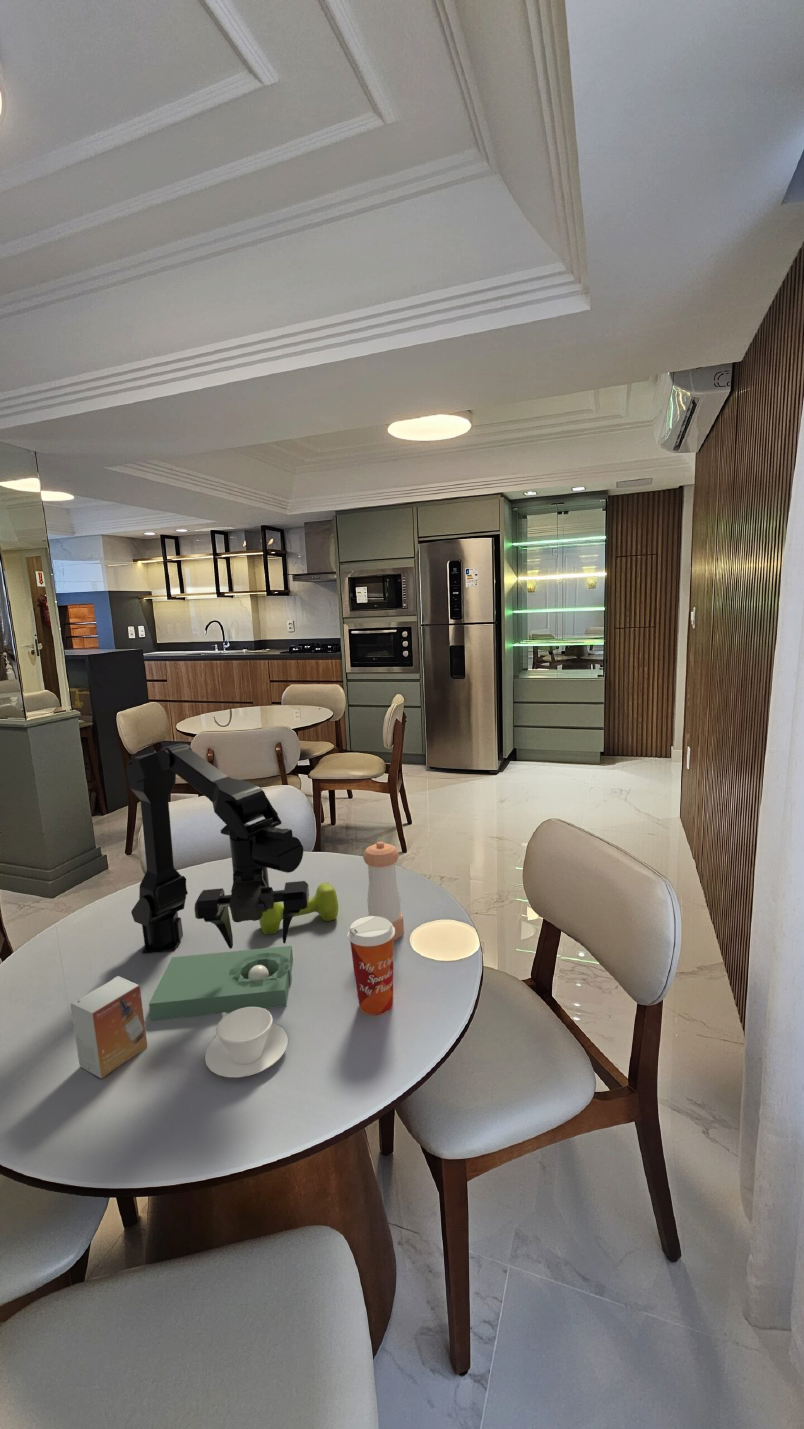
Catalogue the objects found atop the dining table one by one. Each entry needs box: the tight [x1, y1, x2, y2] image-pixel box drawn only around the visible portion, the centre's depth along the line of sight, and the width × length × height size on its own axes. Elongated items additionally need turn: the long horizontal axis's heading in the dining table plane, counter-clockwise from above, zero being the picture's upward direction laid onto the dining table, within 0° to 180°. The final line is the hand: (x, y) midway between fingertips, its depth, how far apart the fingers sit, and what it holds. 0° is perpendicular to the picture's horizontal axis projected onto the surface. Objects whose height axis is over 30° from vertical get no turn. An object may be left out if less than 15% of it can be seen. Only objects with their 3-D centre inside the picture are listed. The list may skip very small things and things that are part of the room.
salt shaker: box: [362, 841, 405, 941], centre depth 125 cm, size 7×7×19 cm
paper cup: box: [347, 916, 395, 1016], centre depth 103 cm, size 8×8×14 cm
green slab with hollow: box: [148, 945, 294, 1021], centre depth 111 cm, size 22×14×3 cm, turn 95°
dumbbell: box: [258, 882, 339, 935], centre depth 132 cm, size 16×8×7 cm, turn 110°
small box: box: [69, 975, 148, 1079], centre depth 94 cm, size 8×6×10 cm
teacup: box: [204, 1007, 289, 1078], centre depth 94 cm, size 12×12×5 cm
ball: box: [248, 965, 270, 980], centre depth 111 cm, size 4×4×4 cm
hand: (258, 945), depth 110 cm, fingers open, 9 cm apart
